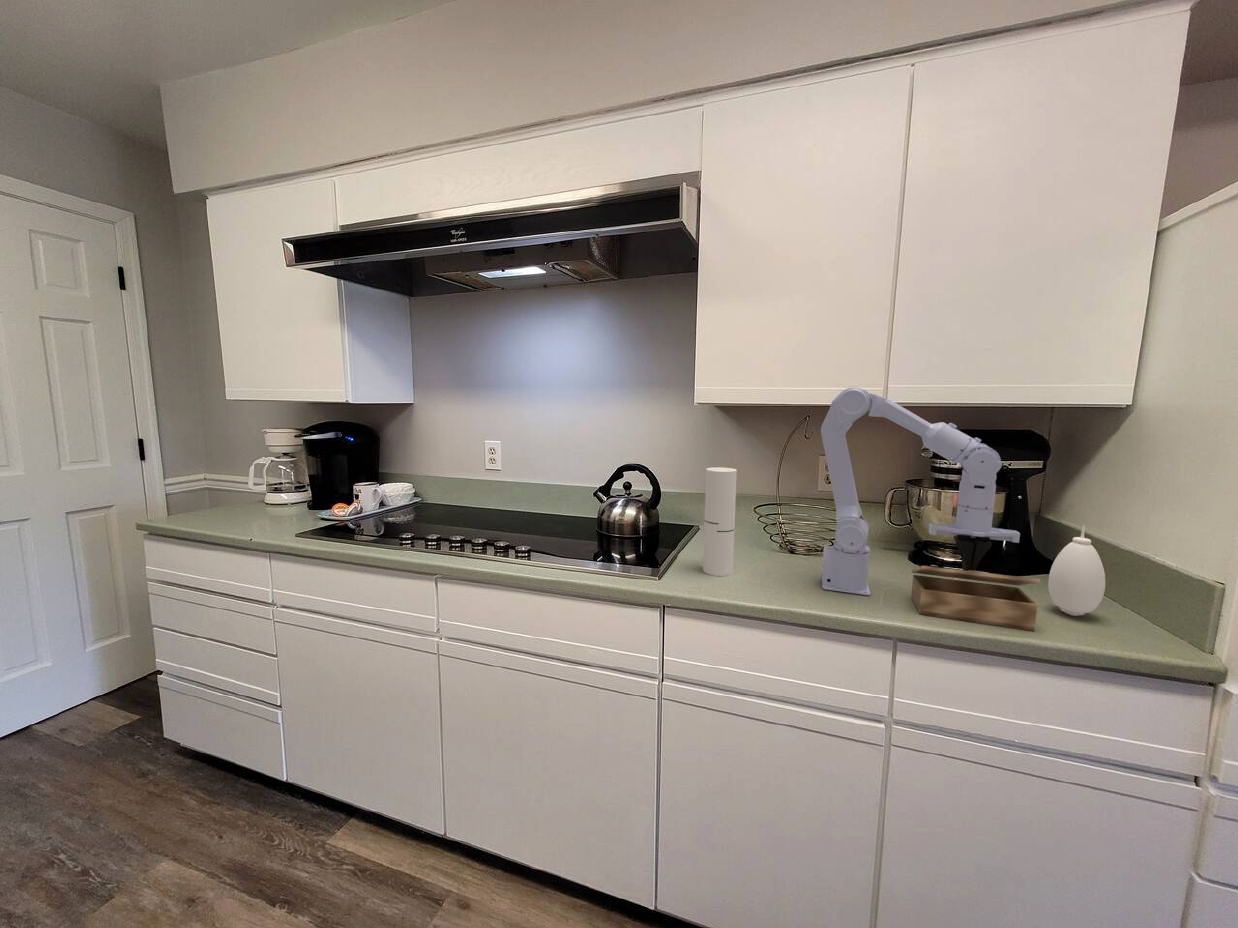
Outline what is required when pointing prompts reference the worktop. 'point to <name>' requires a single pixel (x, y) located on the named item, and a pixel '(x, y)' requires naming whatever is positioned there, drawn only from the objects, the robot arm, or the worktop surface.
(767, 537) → the worktop surface
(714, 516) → the cylindrical container
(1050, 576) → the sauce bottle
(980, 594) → the box
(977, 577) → the lid
